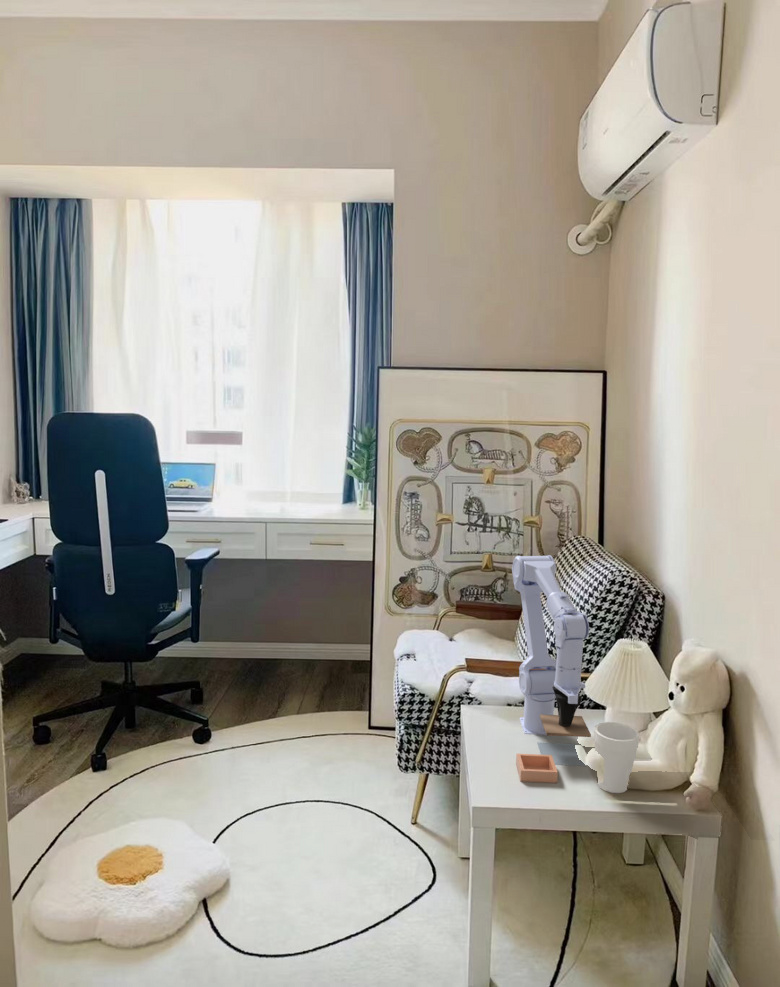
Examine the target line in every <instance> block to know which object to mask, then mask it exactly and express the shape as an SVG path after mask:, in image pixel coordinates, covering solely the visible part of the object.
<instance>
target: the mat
mask: <svg viewBox="0 0 780 987" xmlns="http://www.w3.org/2000/svg"><path fill="white" fill-rule="evenodd" d="M536 743H537V746H538V751H539V753H540V755H552V757H553V760H554V763H555V766H573V767H575V766H576V767H586V766H585V764H584V763H583V762H582V761H581V760H579V758H578V755H577V752H576V749H575V744H576V743H563V742H562V743H561V742H560V743H559V742H539V741H538V742H536Z"/></svg>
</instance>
